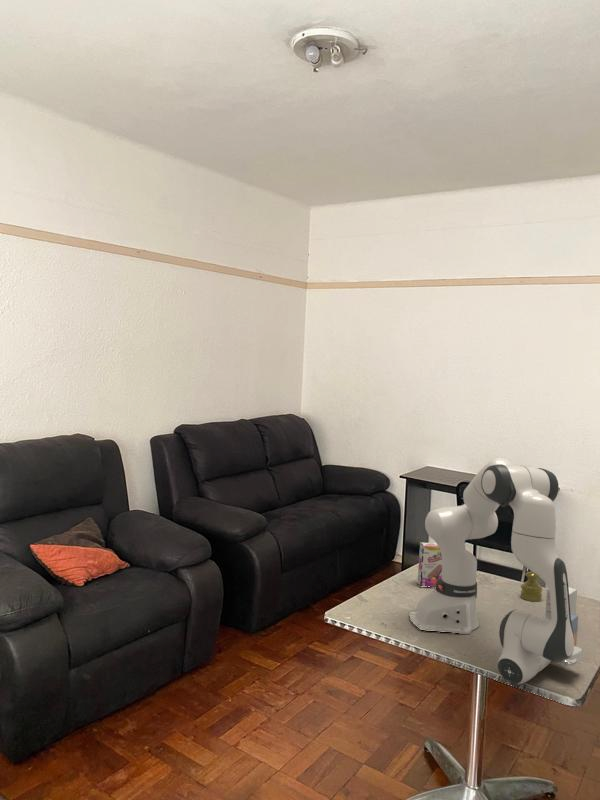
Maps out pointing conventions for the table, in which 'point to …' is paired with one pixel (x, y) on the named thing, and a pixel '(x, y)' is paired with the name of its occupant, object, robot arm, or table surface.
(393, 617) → the table surface
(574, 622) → the slate block
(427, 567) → the candy bar box
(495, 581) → the table surface
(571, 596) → the supplement box
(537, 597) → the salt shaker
